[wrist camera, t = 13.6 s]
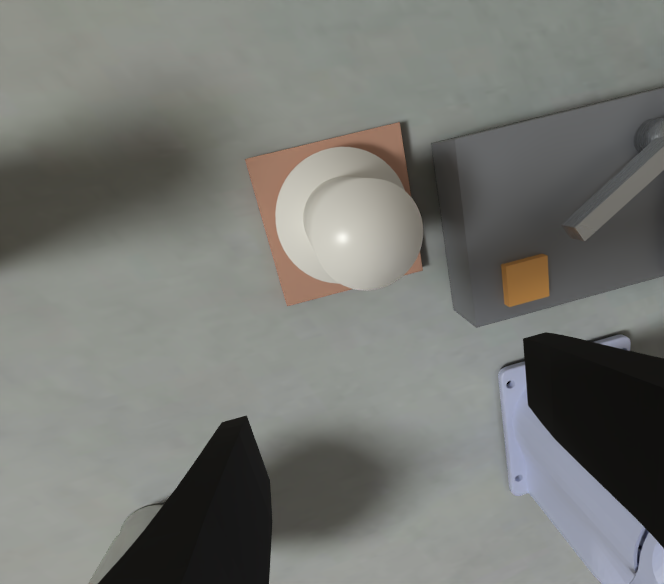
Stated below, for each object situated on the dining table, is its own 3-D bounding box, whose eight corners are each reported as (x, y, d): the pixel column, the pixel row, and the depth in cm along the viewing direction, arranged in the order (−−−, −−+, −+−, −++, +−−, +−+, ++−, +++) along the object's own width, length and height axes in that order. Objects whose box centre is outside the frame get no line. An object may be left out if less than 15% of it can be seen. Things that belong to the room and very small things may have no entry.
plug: (415, 254, 19) (473, 289, 13) (301, 295, 19) (311, 347, 13) (383, 129, 17) (435, 109, 11) (255, 173, 17) (245, 174, 11)
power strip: (785, 219, 22) (869, 227, 19) (453, 309, 21) (484, 334, 18) (811, 50, 19) (916, 26, 16) (431, 143, 18) (463, 137, 15)
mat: (419, 268, 20) (422, 270, 19) (286, 302, 19) (287, 306, 19) (396, 123, 18) (399, 122, 17) (245, 159, 17) (245, 159, 17)
